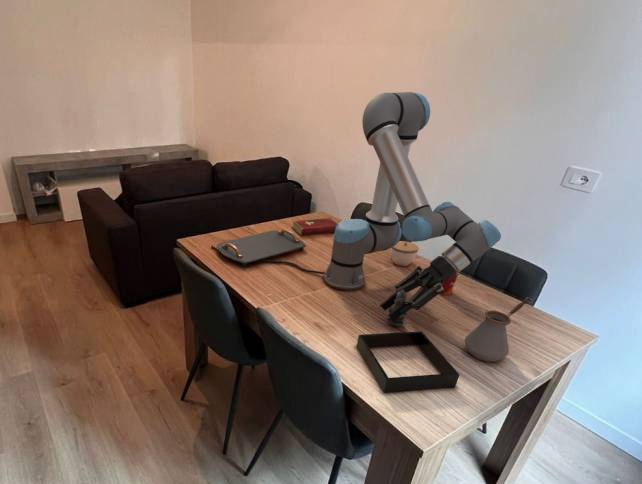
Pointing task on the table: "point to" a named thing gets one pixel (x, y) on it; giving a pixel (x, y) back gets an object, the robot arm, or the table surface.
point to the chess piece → (398, 301)
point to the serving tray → (260, 246)
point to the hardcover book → (315, 226)
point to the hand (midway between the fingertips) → (386, 313)
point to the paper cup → (449, 285)
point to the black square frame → (409, 383)
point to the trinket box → (404, 253)
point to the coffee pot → (491, 335)
